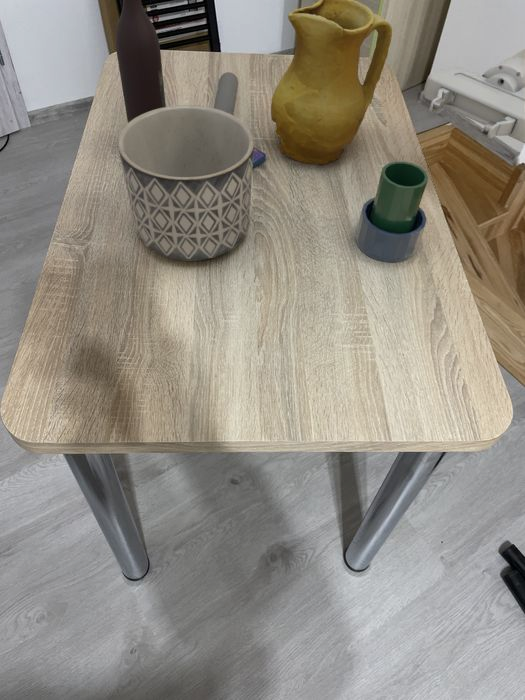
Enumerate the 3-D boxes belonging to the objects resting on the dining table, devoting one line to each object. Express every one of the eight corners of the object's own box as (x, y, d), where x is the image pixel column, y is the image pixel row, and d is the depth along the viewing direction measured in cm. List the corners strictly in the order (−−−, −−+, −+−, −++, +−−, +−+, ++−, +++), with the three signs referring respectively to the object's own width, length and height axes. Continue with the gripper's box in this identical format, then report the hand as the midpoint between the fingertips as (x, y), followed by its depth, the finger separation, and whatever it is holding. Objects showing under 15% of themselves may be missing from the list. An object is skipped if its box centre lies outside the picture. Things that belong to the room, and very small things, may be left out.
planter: (199, 182, 98) (194, 92, 85) (274, 233, 90) (281, 143, 77) (110, 227, 89) (90, 134, 76) (185, 289, 81) (177, 197, 68)
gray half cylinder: (238, 80, 122) (238, 72, 121) (231, 126, 110) (231, 117, 109) (219, 79, 122) (219, 71, 121) (210, 124, 110) (210, 116, 109)
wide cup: (420, 230, 92) (430, 203, 88) (412, 269, 86) (421, 242, 82) (362, 216, 94) (368, 189, 89) (349, 253, 88) (355, 226, 83)
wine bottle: (174, 161, 102) (156, -24, 78) (136, 166, 100) (107, -21, 76) (165, 141, 106) (146, -41, 82) (129, 146, 104) (99, -38, 80)
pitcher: (279, 114, 113) (295, -21, 93) (365, 135, 111) (402, 2, 91) (256, 161, 103) (269, 20, 83) (351, 185, 101) (388, 47, 81)
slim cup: (410, 229, 91) (430, 167, 81) (403, 255, 87) (424, 192, 77) (370, 220, 92) (386, 157, 82) (362, 245, 88) (378, 181, 78)
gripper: (457, 49, 90) (409, 74, 84) (572, 95, 82) (529, 126, 75) (445, 87, 95) (399, 113, 89) (553, 134, 87) (510, 166, 80)
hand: (459, 119), depth 82 cm, fingers open, 8 cm apart
